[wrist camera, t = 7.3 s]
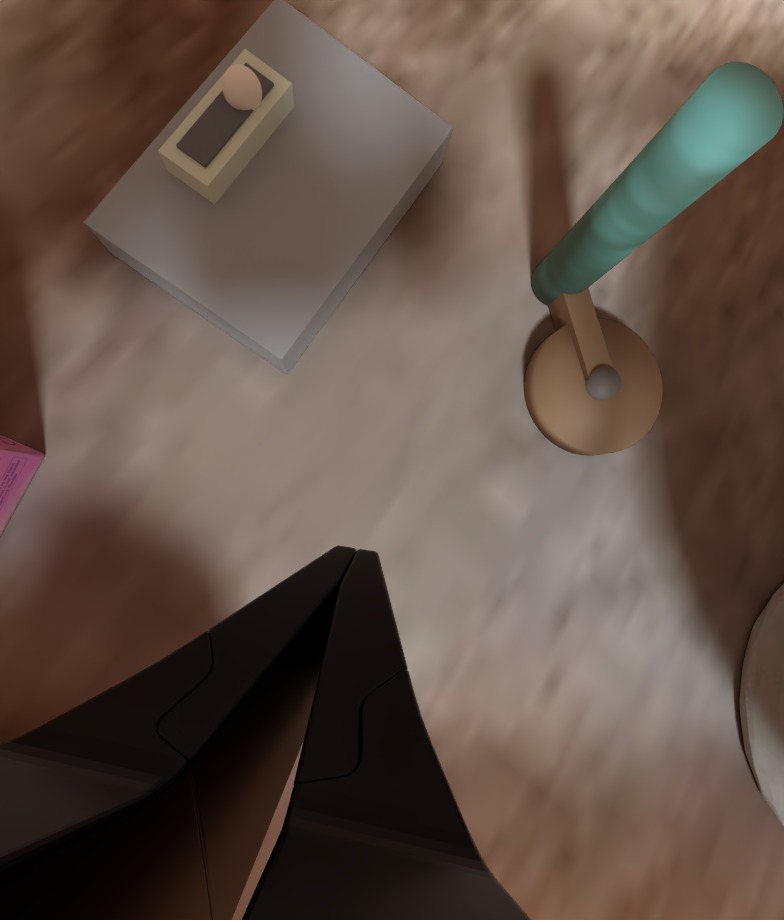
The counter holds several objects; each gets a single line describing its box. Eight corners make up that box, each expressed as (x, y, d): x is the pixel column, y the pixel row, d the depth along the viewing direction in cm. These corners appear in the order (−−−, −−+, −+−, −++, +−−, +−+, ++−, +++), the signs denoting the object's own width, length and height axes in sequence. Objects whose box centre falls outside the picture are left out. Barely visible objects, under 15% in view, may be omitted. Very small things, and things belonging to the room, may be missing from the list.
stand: (287, 374, 22) (274, 342, 18) (111, 253, 22) (49, 186, 17) (441, 164, 24) (467, 85, 20) (283, 47, 24) (271, -65, 19)
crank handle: (527, 456, 24) (706, 421, 12) (518, 259, 25) (680, 55, 13) (650, 454, 25) (923, 420, 13) (638, 264, 25) (887, 78, 14)
